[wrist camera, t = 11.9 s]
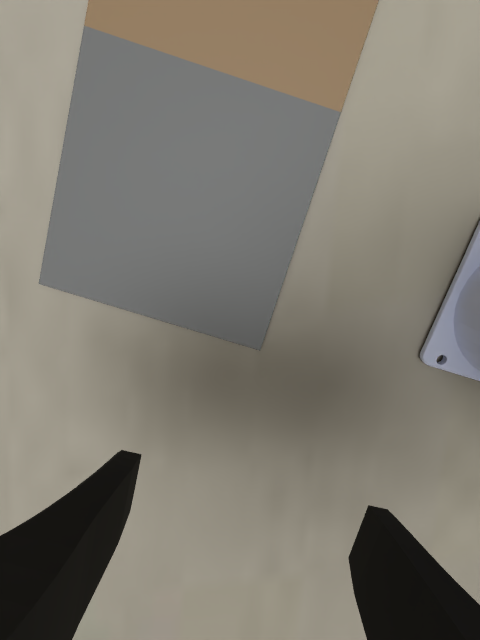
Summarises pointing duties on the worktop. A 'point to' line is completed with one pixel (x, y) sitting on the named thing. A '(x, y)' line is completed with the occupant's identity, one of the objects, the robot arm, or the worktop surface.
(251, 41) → the tricolour rectangular mat
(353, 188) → the worktop surface
